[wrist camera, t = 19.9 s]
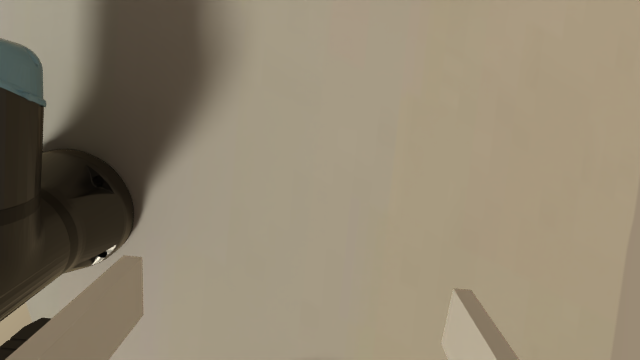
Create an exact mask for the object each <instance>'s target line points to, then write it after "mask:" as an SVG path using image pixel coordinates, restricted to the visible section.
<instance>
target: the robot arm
mask: <svg viewBox="0 0 640 360" xmlns="http://www.w3.org/2000/svg"><path fill="white" fill-rule="evenodd" d="M44 107H46V101H45V100H44V99H43V70H42V64H41V62H40V60H39V58H38V57H37V56H36V54H35V53H34V52H32V51H31V50H30V49H28V48H27V47H25V46H23V45H21V44H18V43H15V42H11V41H8V40H5V39H1V38H0V321H2V320H3V319H4V318H6V317H7V316H8V315H10V314H11V313H12V312H13V311H15V310H16V309H17V308H19V307H20V306H21V305H22V304H24V303H25V302H26V301H28V300H29V299H30V298H32V297H33V296H34V295H35V294H37V293H38V292H39V291H41V290H42V289H43V288H45V287H46V286H47V285H48V284H50V283H51V282H52V281H54V280H55V279H56V278H57V277H59V276H60V275H61V274H63V273H67V272H71V271H74V270H78V269H82V268H85V267H89V266H92V265H95V264H97V263H100V262H101V261H103V260H105V259H107V258H108V257H109V256H111V255H112V254H113V253H114V252H115V251H117V250H118V249H119V248H120V247H121V246H122V245H123V244H124V243H125V241H126V240H127V238H128V236H129V234H130V232H131V229H132V225H133V219H134V211H133V204H132V200H131V196H130V194H129V191H128V189H127V187H126V185H125V184H124V182H123V181H122V179H121V178H120V177H119V175H118V174H117V173H116V172H115V171H114V170H113V169H112V168H111V167H110V166H108V165H107V164H106V163H104V162H103V161H102V160H100V159H98V158H96V157H94V156H92V155H90V154H87V153H85V152H81V151H77V150H70V149H59V150H52V151H48V152H44V153H42V145H43V118H44ZM142 316H143V273H142V257H134V256H123V257H122V258H120V259H119V260H118V261H117V262H116V263H115V264H114V265H112V266H111V267H110V268H109V269H108V270H107V271H106V272H104V273H103V274H102V275H101V276H100V277H99V278H98V279H96V280H95V281H94V282H93V283H92V284H91V285H90V286H88V287H87V288H86V289H85V290H84V291H83V292H82V293H80V294H79V295H78V296H77V297H76V298H75V299H74V300H72V301H71V302H70V303H69V304H68V305H67V306H66V307H65V308H63V309H62V310H61V311H60V312H59V313H58V314H57V315H55V316H54V317H53V318H52V319H50V318H41V319H39V320H37V321H35V322H33V323H31V324H29V325H27V326H25V327H23V328H22V329H21V330H20V331H19V332H18V333H16V334H15V335H14V336H12V337H11V339H10V340H8V341H6V342H5V343H4V344H3V345H2V346H0V360H109V359H110V357H111V356H112V355H113V353H114V352H115V351H116V350H117V348H118V347H119V346H120V344H121V343H122V342H123V340H124V339H125V338H126V337H127V335H128V334H129V333H130V331H131V330H132V329H133V327H134V326H135V325H136V324H137V322H138V321H139V320H140V318H141V317H142ZM441 344H442V347H443V349H444V351H445V354H446V356H447V358H448V360H519V358H518V357H517V356H516V354H515V353H514V351H513V350H512V348H511V347H510V345H509V344H508V343H507V341H506V340H505V338H504V337H503V335H502V334H501V332H500V331H499V330H498V328H497V327H496V325H495V324H494V322H493V321H492V319H491V318H490V317H489V315H488V314H487V312H486V311H485V309H484V308H483V306H482V305H481V303H480V302H479V301H478V299H477V298H476V296H475V295H474V293H473V292H472V290H465V289H455V288H453V292H452V297H451V301H450V306H449V311H448V315H447V320H446V324H445V329H444V334H443V338H442V343H441Z"/></svg>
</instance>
